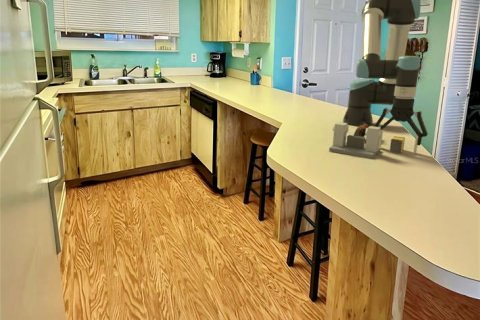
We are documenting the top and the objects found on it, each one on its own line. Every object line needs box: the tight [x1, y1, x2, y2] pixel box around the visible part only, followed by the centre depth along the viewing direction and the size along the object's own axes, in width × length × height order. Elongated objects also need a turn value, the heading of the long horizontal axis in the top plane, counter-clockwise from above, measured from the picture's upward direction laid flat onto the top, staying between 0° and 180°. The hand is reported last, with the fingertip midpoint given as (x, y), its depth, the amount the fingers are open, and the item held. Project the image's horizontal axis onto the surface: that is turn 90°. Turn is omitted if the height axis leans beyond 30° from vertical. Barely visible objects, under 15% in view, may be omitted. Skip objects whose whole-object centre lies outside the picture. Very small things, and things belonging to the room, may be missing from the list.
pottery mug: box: [353, 123, 371, 137], centre depth 163 cm, size 12×10×8 cm
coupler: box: [389, 135, 406, 154], centre depth 147 cm, size 4×6×5 cm
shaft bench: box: [328, 121, 383, 159], centre depth 146 cm, size 12×18×10 cm, turn 57°
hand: (396, 150), depth 148 cm, fingers open, 13 cm apart
